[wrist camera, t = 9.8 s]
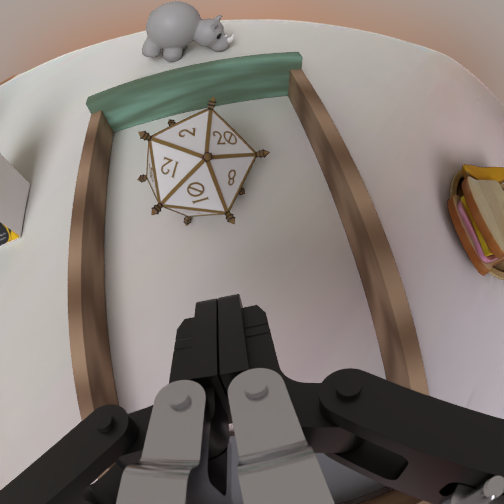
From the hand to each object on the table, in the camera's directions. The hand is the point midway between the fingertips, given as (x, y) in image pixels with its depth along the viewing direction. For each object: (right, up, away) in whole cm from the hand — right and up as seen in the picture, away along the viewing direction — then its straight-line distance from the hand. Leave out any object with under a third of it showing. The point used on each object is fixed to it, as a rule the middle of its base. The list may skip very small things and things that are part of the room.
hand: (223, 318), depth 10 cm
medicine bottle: (-27, +6, +13) cm, 31 cm away
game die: (-3, +7, +13) cm, 15 cm away
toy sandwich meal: (+25, +5, +11) cm, 28 cm away
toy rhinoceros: (-7, +30, +22) cm, 38 cm away
